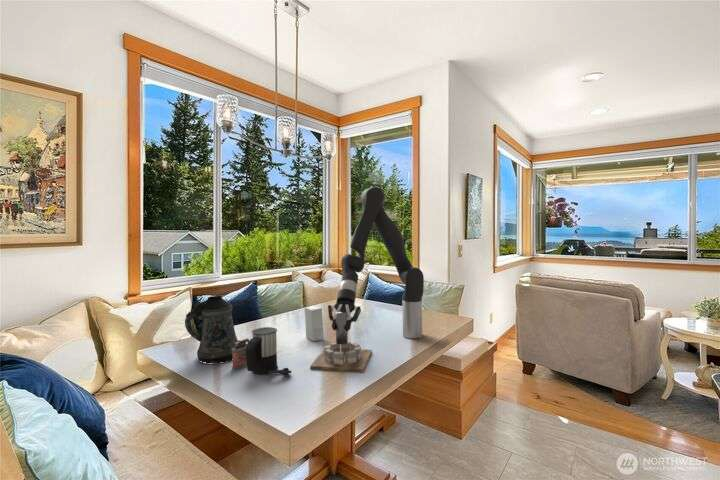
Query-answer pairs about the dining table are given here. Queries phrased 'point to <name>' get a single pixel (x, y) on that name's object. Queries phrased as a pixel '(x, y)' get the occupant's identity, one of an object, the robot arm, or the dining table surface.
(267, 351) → the milk frother
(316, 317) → the skincare box
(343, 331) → the metal pin
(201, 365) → the dining table surface
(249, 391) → the dining table surface
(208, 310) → the beer stein
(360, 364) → the castellated collar
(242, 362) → the lighter
